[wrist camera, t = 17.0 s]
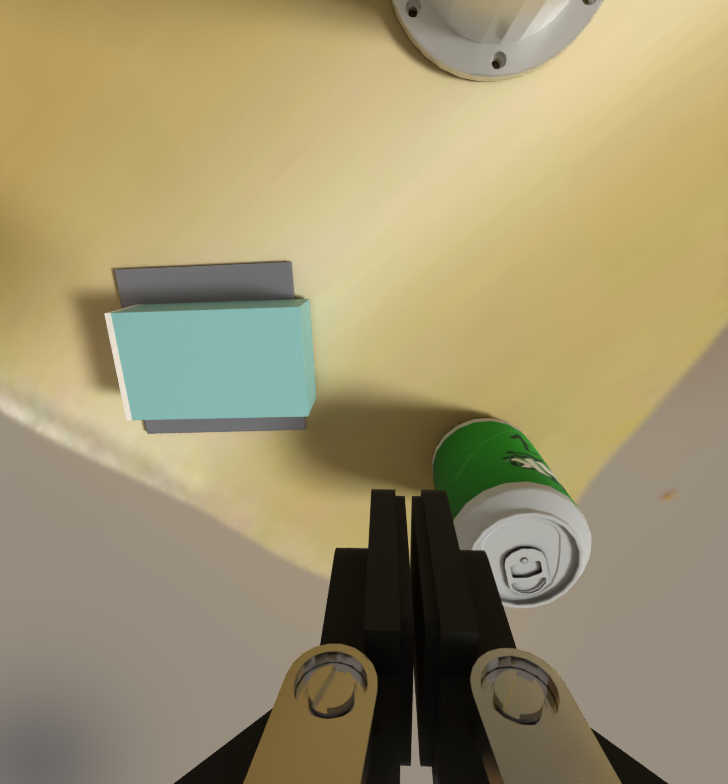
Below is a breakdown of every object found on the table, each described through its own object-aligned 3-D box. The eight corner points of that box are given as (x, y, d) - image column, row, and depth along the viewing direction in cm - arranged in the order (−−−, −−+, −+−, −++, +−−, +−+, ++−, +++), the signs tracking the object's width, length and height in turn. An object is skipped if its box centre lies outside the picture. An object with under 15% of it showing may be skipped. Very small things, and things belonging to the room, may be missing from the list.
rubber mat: (117, 269, 32) (114, 269, 32) (291, 261, 32) (290, 262, 31) (149, 431, 36) (147, 433, 36) (305, 427, 35) (305, 429, 35)
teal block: (309, 298, 32) (136, 304, 33) (299, 306, 28) (104, 313, 29) (316, 396, 34) (154, 400, 35) (308, 416, 30) (126, 420, 31)
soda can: (441, 511, 37) (467, 632, 26) (420, 425, 35) (438, 515, 24) (537, 491, 36) (608, 607, 25) (522, 401, 34) (591, 483, 23)
